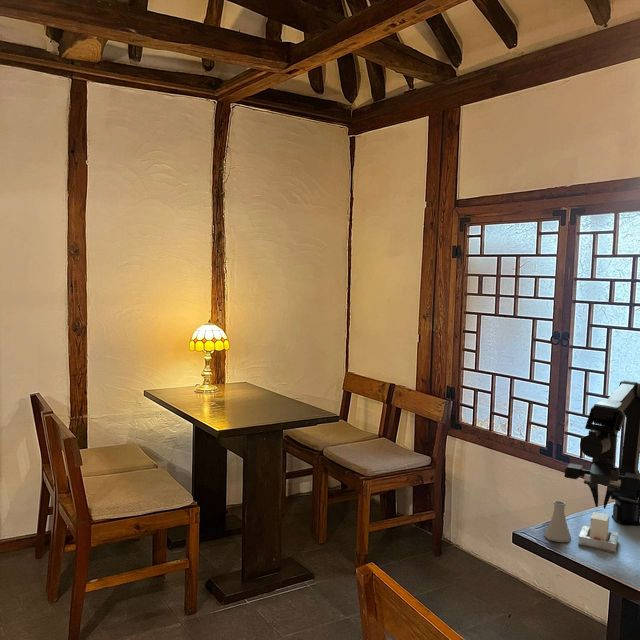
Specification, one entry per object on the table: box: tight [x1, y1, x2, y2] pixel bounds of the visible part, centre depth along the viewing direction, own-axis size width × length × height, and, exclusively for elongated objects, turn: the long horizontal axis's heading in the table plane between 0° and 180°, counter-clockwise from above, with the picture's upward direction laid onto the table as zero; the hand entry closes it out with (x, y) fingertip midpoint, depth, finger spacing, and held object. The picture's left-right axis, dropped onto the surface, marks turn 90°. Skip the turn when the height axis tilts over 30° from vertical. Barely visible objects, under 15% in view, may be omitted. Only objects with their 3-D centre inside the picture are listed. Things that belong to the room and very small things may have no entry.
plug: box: [589, 511, 610, 541], centre depth 174 cm, size 6×4×7 cm
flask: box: [543, 500, 572, 543], centre depth 177 cm, size 7×7×10 cm
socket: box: [577, 524, 619, 554], centre depth 174 cm, size 9×9×3 cm
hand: (600, 507), depth 174 cm, fingers closed
